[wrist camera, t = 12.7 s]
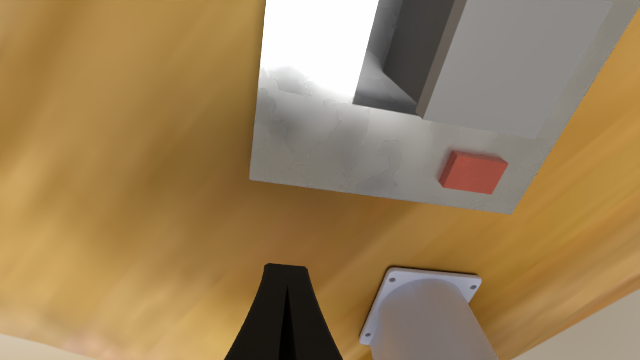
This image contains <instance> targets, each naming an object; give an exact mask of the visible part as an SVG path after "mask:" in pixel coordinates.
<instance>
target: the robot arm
mask: <svg viewBox="0 0 640 360" xmlns="http://www.w3.org/2000/svg"><path fill="white" fill-rule="evenodd" d="M481 283H482V280H481V278H480V277H479V276H477V275H467V274H457V273H447V272H436V271H426V270H416V269H405V268H390V269H389V270H388V271H387V273H386V275H385V278H384V280H383V282H382V285H381V287H380V289H379V292H378V294H377V296H376V299H375V301H374V304H373V306H372V308H371V311H370V313H369V315H368V318H367V320H366V323H365V325H364V327H363V330H362V332H361V334H360V337H359V342H360V343H361V344H363V345H370V348H371V353H372V357H373V360H499V359H498V357H497V355H496V353H495V351H494V350H493V348H492V346H491V344H490V343H489V341H488V339H487V337H486V335H485V334H484V332H483V330H482V328H481V326H480V325H479V323H478V321H477V319H476V317H475V316H474V314H473V312H472V310H471V308H470V307H469V305H468V303H469V301H470V300H471V298H472V297H473V295H474V294H475V292H476V291H477V289H478V288H479V286H480V284H481ZM224 360H343V358H342V357H341V355H340V352H339V350H338V348H337V346H336V344H335V342H334V340H333V338H332V336H331V333H330V331H329V329H328V327H327V324H326V322H325V319H324V317H323V315H322V312H321V310H320V307H319V305H318V302H317V299H316V296H315V294H314V291H313V288H312V284H311V281H310V277H309V274H308V269H307V268H306V267H304V266H293V265H282V264H272V263H268V264H266V265H265V266H264V272H263V276H262V280H261V283H260V286H259V289H258V292H257V294H256V297H255V299H254V302H253V304H252V306H251V308H250V311H249V313H248V315H247V317H246V319H245V321H244V324H243V326H242V327H241V329H240V331H239V333H238V335H237V337H236V339H235V341H234V343H233V345H232V347H231V348H230V350H229V352H228V354H227V355H226V357H225V359H224Z"/></svg>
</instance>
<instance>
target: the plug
mask: <svg viewBox="0 0 640 360" xmlns="http://www.w3.org/2000/svg"><path fill="white" fill-rule="evenodd" d="M613 4H614V3H613V2H609V1H605V0H403V2H402V5H401V9H400V12H399V16H398V19H397V23H396V26H395V30H394V33H393V37H392V41H391V44H390V48H389V51H388V55H387V58H386V62H385V65H384V69H383V73H384V74H385V75H386V76H387V77H389V78H390V79H391V80H392V81H393V82H394V83H395V84H396V85H397V86H399V87H400V88H401V89H402V90H403V91H404V92H405V93H406V94H407V95H409V96H410V97H411V98H412V99H413V100H414V101H415V102H416V103H418V105H417V108H416V111H415V112H416V113H417V114H418V115H419V116H420V117H421V118H422V119H423V120H428V121H433V122H439V123H445V124H451V125H456V126H462V127H468V128H473V129H479V130H485V131H491V132H496V133H502V134H508V135H514V136H519V137H525V138H531V139H536V137H537V136H538V134H539V132H540V130H541V129H542V127H543V125H544V123H545V122H546V120H547V118H548V116H549V115H550V113H551V111H552V109H553V108H554V106H555V104H556V103H557V101H558V99H559V97H560V96H561V94H562V92H563V90H564V89H565V87H566V85H567V83H568V82H569V80H570V78H571V76H572V75H573V73H574V71H575V70H576V68H577V66H578V64H579V63H580V61H581V59H582V57H583V56H584V54H585V52H586V50H587V49H588V47H589V45H590V43H591V42H592V40H593V38H594V37H595V35H596V33H597V31H598V30H599V28H600V26H601V24H602V23H603V21H604V19H605V17H606V16H607V14H608V12H609V11H610V9H611V7H612V5H613Z"/></svg>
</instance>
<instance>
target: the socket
mask: <svg viewBox="0 0 640 360" xmlns="http://www.w3.org/2000/svg"><path fill="white" fill-rule="evenodd" d="M605 1H609V2H613V3H614V4H613V5H612V7H611V9H610V11H609V12H608V14H607V16H606V17H605V19H604V21H603V23H602V24H601V26H600V28H599V30H598V31H597V33H596V35H595V37H594V38H593V40H592V42H591V43H590V45H589V47H588V49H587V50H586V52H585V54H584V56H583V57H582V59H581V61H580V63H579V64H578V66H577V68H576V70H575V71H574V73H573V75H572V76H571V78H570V80H569V82H568V83H567V85H566V87H565V89H564V90H563V92H562V94H561V96H560V97H559V99H558V101H557V103H556V104H555V106H554V108H553V109H552V111H551V113H550V115H549V116H548V118H547V120H546V122H545V123H544V125H543V127H542V129H541V130H540V132H539V134H538V136H537V137H536V139H531V138H525V137H519V136H514V135H508V134H502V133H496V132H491V131H485V130H479V129H473V128H468V127H462V126H456V125H451V124H445V123H439V122H433V121H428V120H423V119H422V118H421V117H420V116H419V115H418V114H417V113H416V112H415V111H416V108H417V105H418V103H416V102H415V101H414V100H413V99H412V98H411V97H410V96H409V95H407V94H406V93H405V92H404V91H403V90H402V89H401V88H400V87H399V86H397V85H396V84H395V83H394V82H393V81H392V80H391V79H390V78H389V77H387V76H386V75H385V74H384V73H383V69H384V65H385V62H386V58H387V55H388V51H389V48H390V44H391V41H392V37H393V33H394V30H395V26H396V23H397V19H398V16H399V12H400V9H401V5H402V2H403V0H267V3H266V13H265V23H264V33H263V43H262V53H261V63H260V73H259V83H258V93H257V103H256V113H255V123H254V133H253V143H252V153H251V163H250V173H249V180H255V181H263V182H270V183H278V184H285V185H293V186H300V187H308V188H315V189H323V190H330V191H338V192H346V193H353V194H361V195H368V196H376V197H383V198H391V199H398V200H406V201H413V202H421V203H428V204H436V205H443V206H451V207H458V208H466V209H474V210H481V211H489V212H496V213H504V214H512V213H513V211H514V209H515V208H516V206H517V204H518V203H519V201H520V200H521V198H522V196H523V195H524V193H525V192H526V190H527V188H528V187H529V185H530V183H531V182H532V180H533V179H534V177H535V175H536V174H537V172H538V170H539V169H540V167H541V166H542V164H543V162H544V161H545V159H546V157H547V156H548V154H549V153H550V151H551V149H552V148H553V146H554V144H555V143H556V141H557V140H558V138H559V136H560V135H561V133H562V131H563V130H564V128H565V127H566V125H567V123H568V122H569V120H570V119H571V117H572V115H573V114H574V112H575V110H576V109H577V107H578V106H579V104H580V102H581V101H582V99H583V97H584V96H585V94H586V93H587V91H588V89H589V88H590V86H591V84H592V83H593V81H594V80H595V78H596V76H597V75H598V73H599V71H600V70H601V68H602V67H603V65H604V63H605V62H606V60H607V59H608V57H609V55H610V54H611V52H612V50H613V49H614V47H615V46H616V44H617V42H618V41H619V39H620V37H621V36H622V34H623V33H624V31H625V29H626V28H627V26H628V24H629V23H630V21H631V20H632V18H633V16H634V15H635V13H636V11H637V10H638V8H639V7H640V0H605Z"/></svg>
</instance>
